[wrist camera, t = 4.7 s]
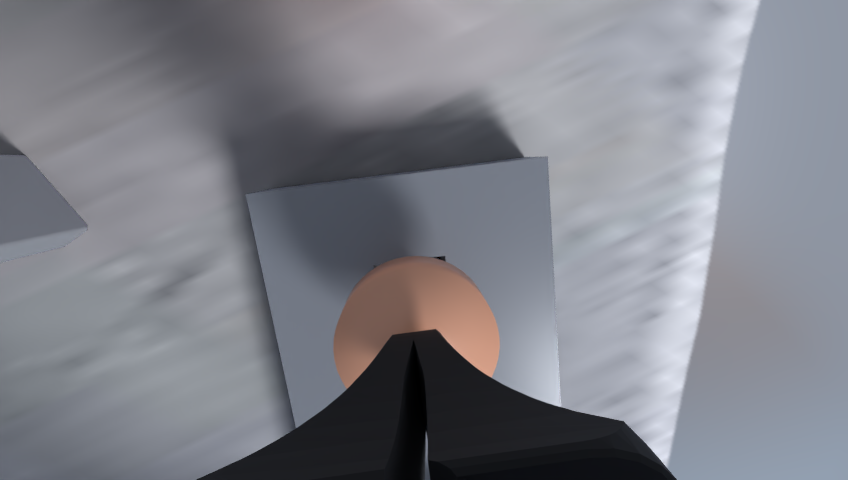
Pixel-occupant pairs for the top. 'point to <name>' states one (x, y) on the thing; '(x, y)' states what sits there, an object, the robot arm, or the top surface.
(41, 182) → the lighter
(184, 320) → the top surface
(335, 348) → the orange-brown rounded piece
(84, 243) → the top surface
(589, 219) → the top surface
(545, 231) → the block
